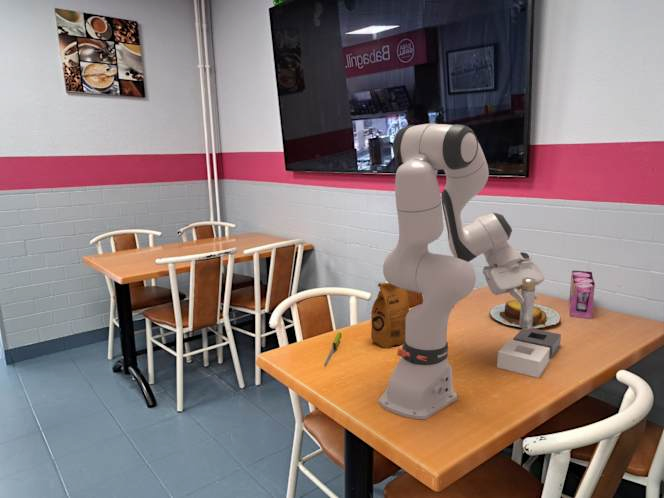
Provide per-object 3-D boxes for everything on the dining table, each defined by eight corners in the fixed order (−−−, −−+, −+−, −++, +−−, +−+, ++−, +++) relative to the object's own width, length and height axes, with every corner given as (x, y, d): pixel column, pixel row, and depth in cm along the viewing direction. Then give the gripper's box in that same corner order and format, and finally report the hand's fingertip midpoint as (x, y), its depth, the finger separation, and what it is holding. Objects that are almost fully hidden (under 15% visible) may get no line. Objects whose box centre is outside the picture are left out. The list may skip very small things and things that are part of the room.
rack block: (538, 378, 136) (539, 362, 135) (497, 367, 143) (497, 352, 142) (548, 362, 145) (549, 347, 144) (509, 353, 152) (509, 339, 151)
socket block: (551, 358, 148) (552, 346, 147) (512, 349, 155) (513, 338, 154) (560, 345, 157) (561, 334, 157) (522, 337, 165) (523, 326, 164)
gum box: (592, 320, 180) (595, 286, 177) (569, 317, 183) (572, 284, 180) (589, 302, 201) (592, 271, 198) (568, 300, 204) (571, 269, 201)
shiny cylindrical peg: (530, 330, 139) (533, 281, 136) (517, 327, 141) (520, 279, 138) (533, 326, 142) (537, 278, 139) (521, 323, 144) (524, 276, 141)
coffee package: (367, 341, 164) (366, 280, 160) (393, 332, 171) (394, 274, 167) (385, 350, 156) (385, 287, 152) (412, 341, 163) (413, 280, 159)
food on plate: (574, 324, 177) (575, 307, 176) (527, 337, 166) (528, 319, 165) (520, 305, 199) (521, 290, 198) (476, 315, 188) (476, 299, 187)
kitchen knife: (326, 372, 144) (326, 364, 143) (322, 372, 144) (322, 363, 143) (341, 339, 165) (341, 331, 164) (338, 339, 165) (338, 331, 164)
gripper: (486, 261, 138) (511, 302, 132) (533, 252, 148) (558, 290, 141) (474, 272, 143) (498, 312, 137) (520, 263, 153) (544, 300, 146)
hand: (529, 301), depth 139 cm, fingers closed on shiny cylindrical peg, 4 cm apart
